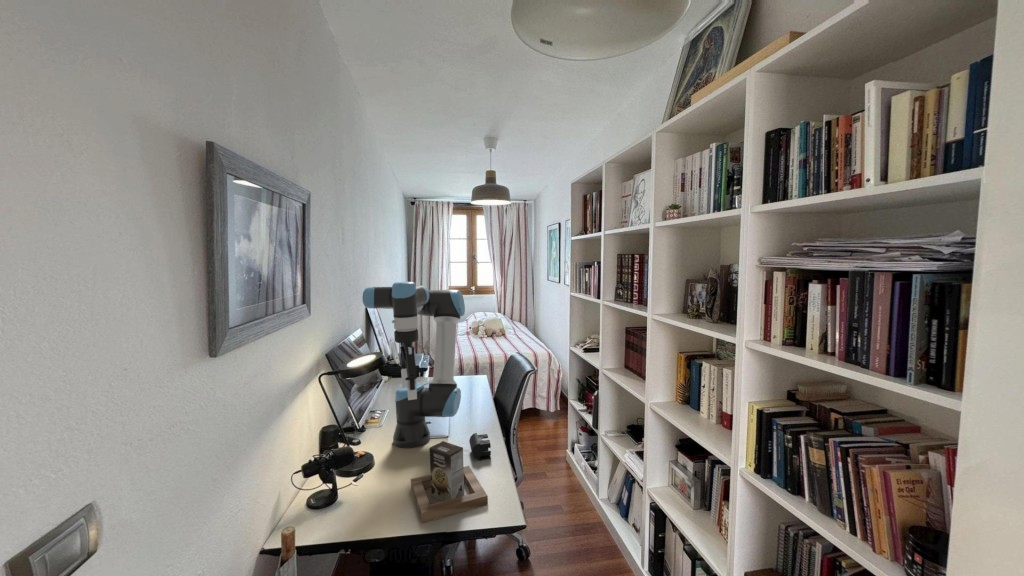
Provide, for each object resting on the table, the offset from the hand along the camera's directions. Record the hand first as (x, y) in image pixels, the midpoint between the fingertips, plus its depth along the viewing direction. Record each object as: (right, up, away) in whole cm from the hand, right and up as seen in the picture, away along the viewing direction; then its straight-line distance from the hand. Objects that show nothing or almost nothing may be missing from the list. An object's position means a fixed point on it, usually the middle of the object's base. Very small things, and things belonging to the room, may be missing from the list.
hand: (409, 393), depth 134 cm
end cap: (+22, -30, +23) cm, 43 cm away
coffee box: (+13, -32, -5) cm, 35 cm away
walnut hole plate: (+13, -32, -4) cm, 35 cm away
